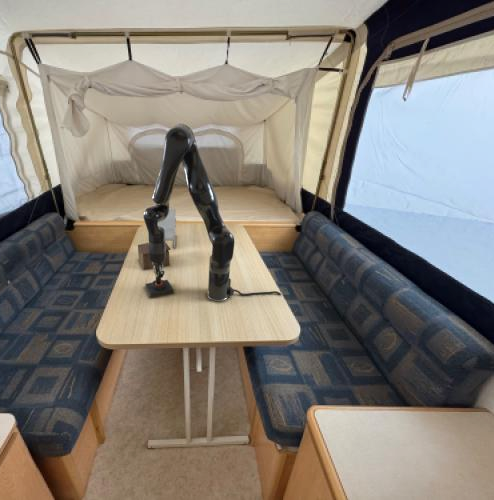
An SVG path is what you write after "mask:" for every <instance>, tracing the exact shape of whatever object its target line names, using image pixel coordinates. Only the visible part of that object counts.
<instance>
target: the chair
mask: <svg viewBox="0 0 494 500" xmlns="http://www.w3.org/2000/svg"><path fill="white" fill-rule="evenodd" d="M158 226H160V227H163V228H164V230H165V242H167V241H168V242H169V241H170V242H173V248H174V249H175V248H176V239H177V217H176V209H173V208H169V214H168V216H167V218H166V219H165V220H163V221H160V222H158Z"/></svg>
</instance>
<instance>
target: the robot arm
mask: <svg viewBox="0 0 494 500" xmlns="http://www.w3.org/2000/svg"><path fill="white" fill-rule="evenodd" d="M181 164H182V167H183V170H184V176H185V181H186V187H187V191H188V193H189V196H190V198H191V200H192V202H193V205H194V206H195V208H196V210H197V212H198V214H199V215H200V217H201V219H202V221H203V223H204V226H205V230H206V232H207V236H208V240H209V243H210V244H211V246H212V248H211V249H212V250H211V255H210V256H209V261H208V262H209V263H208V279H207V280H208V281H207V288H206V292H207V298H208V299H209V300H211V301H213V302H219V303H220V302H224V301H226V300H227V299H228V298H230V297H232V296H234V294H235V293H238V294H239V295H240V296H244V297H247V296H252V295H272V294H277V295H279V296H281V295H282V293H281V292H279V291H276V290H273V291H272V290H271V291H258V292H249V293H243V292H241V291H240V290H238V289H234V288H233V287H232V286H231V284H232V279H231V277H230V272H231V262H232V260H233V258H234V252H235V236H234V235H233V233H232V232H231V231H230V230H229V229H228V227H227V226H226V223H224V220H223V217H222V216H221V214H220V209H219V203H218V197H217V194H216V191H215V188H214V186H213V183H212V181H211V179H210V177H209V174H208V171H207V169H206V167H205V165H204V163H203V161H202V157H201V155H200V151H199V147H198V144H197V140H196V137H195V134H194V131H193V130H192V128H191V127H190V126H189V125H187V124H185V123H178V124H175V125H173V126H172V127H171V128H170V129H169V130H168V131H167V132H166V134H165V137H164V145H163V154H162V159H161V165H160V168H159V169H160V170H159V172H158V176H157V179H156V182H155V186H154V189H153V193H152V196H151V197H152V201H153V202H154V203H155V205H152V206H149V207H146V208H145V210H144V211H143V221H144V224H145V227H146V229H147V233H148V243H149V260H150V261H151V262H152V265H153V268H152V269H153V270H152V271H153V273H154V276H155V280H156V284H161V280H162V278H164V276H165V270H163V269H164V267H163V264H162V262H163V261H165V260H166V244H167V243H166V244H165V242H166V241H165V230H164V228H163V227H160V226H158V222H160V221H163V220H165V219H166V218H167V216H168V214H169V209H170V200H171V198H172V195H173V192H174V189H175V185H176V179H177V174H178V170H179V168H180V165H181ZM234 292H235V293H234Z"/></svg>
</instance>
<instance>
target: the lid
mask: <svg viewBox="0 0 494 500" xmlns="http://www.w3.org/2000/svg"><path fill="white" fill-rule="evenodd" d="M165 244H166V251H167V250H168V251H171V247H170V246H169V245H168V243H167V241H165ZM138 247H139V249H140V251H141V253H142V255H147V254H149V242H146V243H141V244H137V248H138Z"/></svg>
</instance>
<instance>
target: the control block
mask: <svg viewBox="0 0 494 500" xmlns="http://www.w3.org/2000/svg"><path fill="white" fill-rule="evenodd" d="M161 281H162V282H163V284H162V285H160V286H157V285H155V282H156V279H155V280H153V281H152V282H147V283H145V285H144V286H145V289H146V292H147V294H148V296H149V298H150V299H152V298H156V297H160V296H166V295H170V294H173V293H174V288H173V286H172V285H171V284H170V282H169V280H168V279H161Z"/></svg>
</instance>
